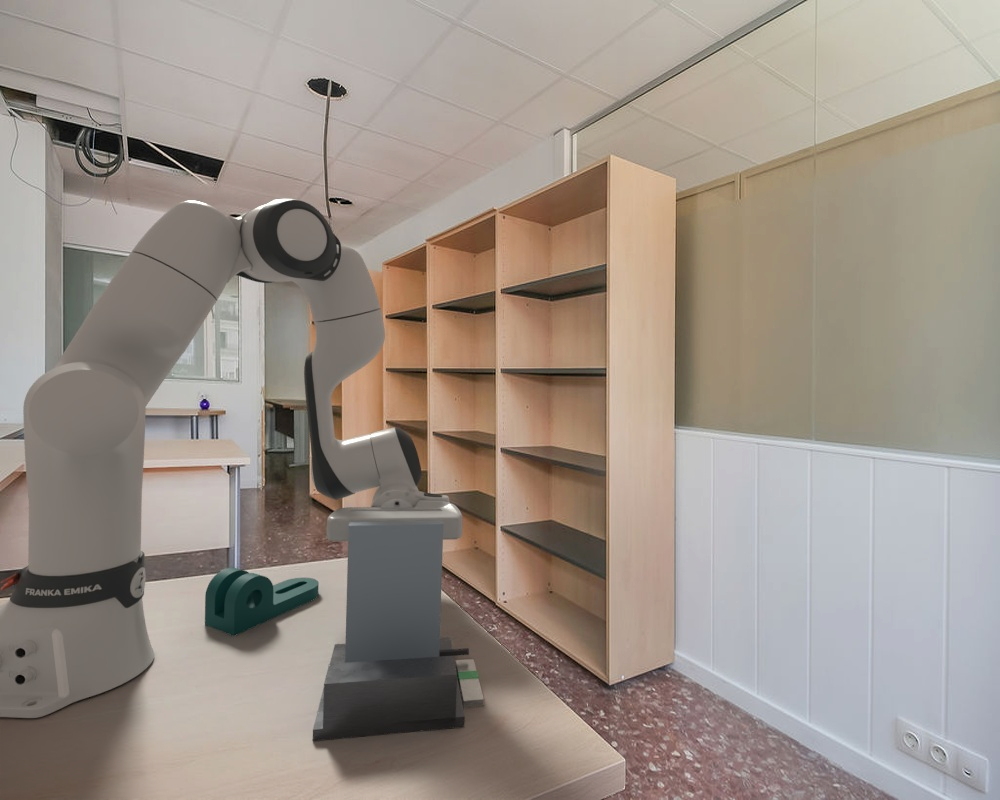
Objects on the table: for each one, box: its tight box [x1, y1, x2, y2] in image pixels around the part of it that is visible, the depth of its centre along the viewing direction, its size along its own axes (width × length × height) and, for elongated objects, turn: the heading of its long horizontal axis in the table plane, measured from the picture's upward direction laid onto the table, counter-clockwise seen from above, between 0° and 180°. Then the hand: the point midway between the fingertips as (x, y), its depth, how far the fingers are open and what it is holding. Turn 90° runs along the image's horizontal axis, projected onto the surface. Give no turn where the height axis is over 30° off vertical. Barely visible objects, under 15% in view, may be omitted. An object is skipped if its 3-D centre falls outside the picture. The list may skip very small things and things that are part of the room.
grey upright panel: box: [344, 521, 470, 663], centre depth 68 cm, size 16×2×18 cm, turn 101°
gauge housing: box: [312, 637, 485, 742], centre depth 65 cm, size 19×18×6 cm
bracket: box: [204, 567, 319, 637], centre depth 85 cm, size 18×7×8 cm, turn 153°
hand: (395, 538), depth 73 cm, fingers closed
